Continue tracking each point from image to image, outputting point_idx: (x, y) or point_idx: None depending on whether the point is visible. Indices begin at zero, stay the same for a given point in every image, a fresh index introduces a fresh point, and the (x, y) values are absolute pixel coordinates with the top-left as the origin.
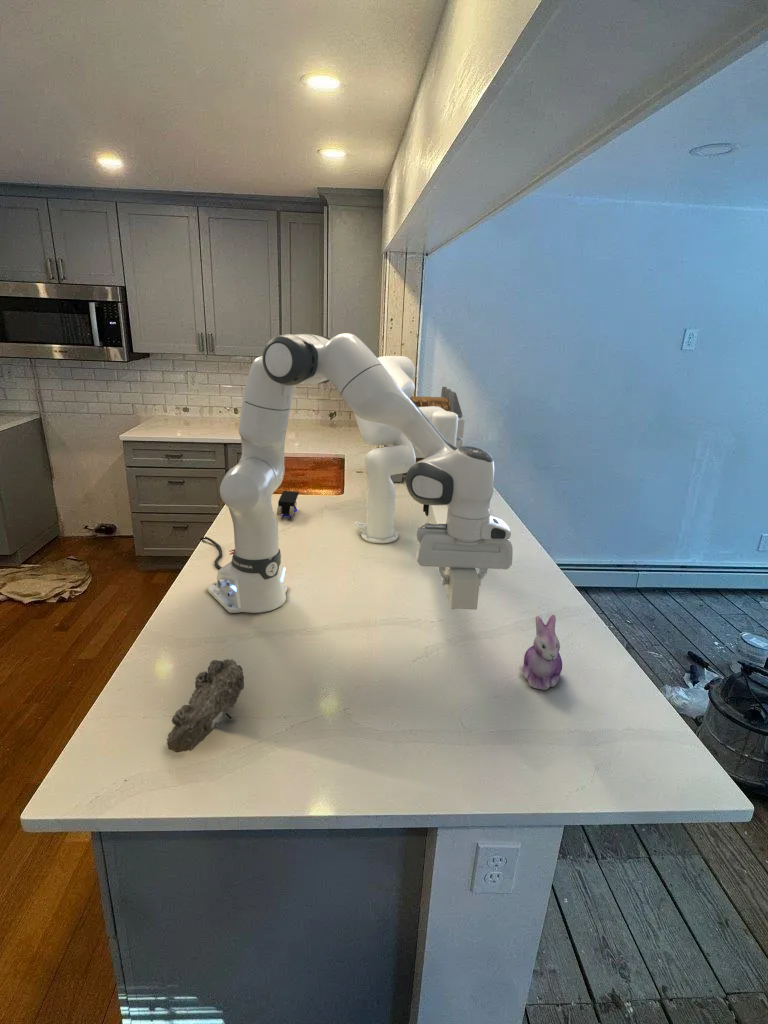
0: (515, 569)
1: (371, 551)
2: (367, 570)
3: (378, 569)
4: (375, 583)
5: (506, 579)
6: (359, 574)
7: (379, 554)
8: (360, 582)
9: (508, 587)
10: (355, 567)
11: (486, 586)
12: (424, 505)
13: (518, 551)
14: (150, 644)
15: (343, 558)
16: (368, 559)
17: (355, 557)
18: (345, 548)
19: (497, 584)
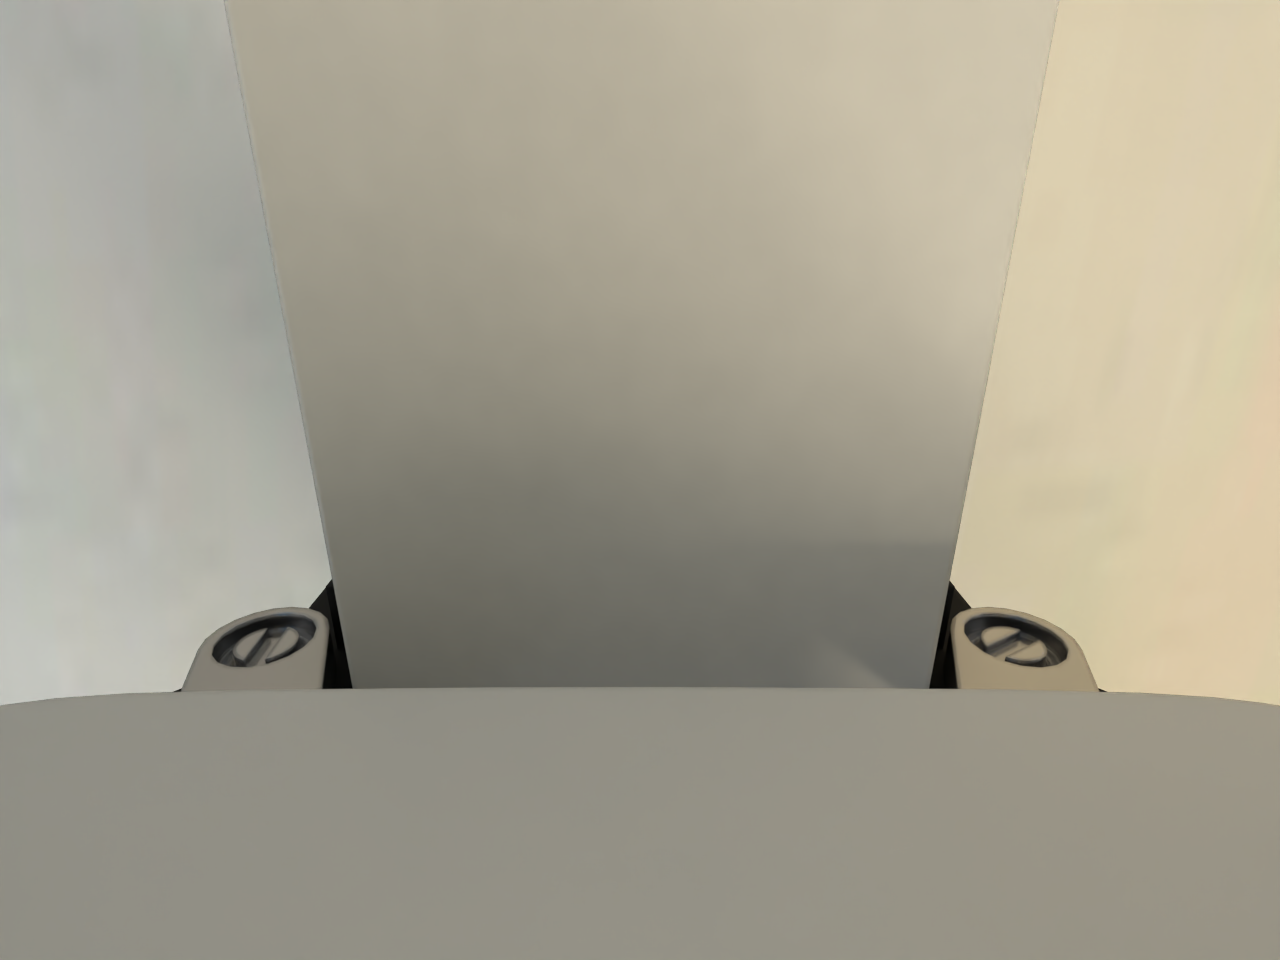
0: (5, 381)
1: (1036, 597)
2: (1143, 284)
3: (1053, 308)
4: (1140, 36)
5: (60, 193)
6: (1225, 206)
7: (990, 556)
8: (1259, 48)
9: (31, 32)
10: (1221, 331)
11: (217, 40)
12: (954, 600)
13: (12, 666)
14: None
15: (1267, 476)
16: (1088, 472)
17: (1175, 498)
18: (1206, 629)
19: (127, 88)
